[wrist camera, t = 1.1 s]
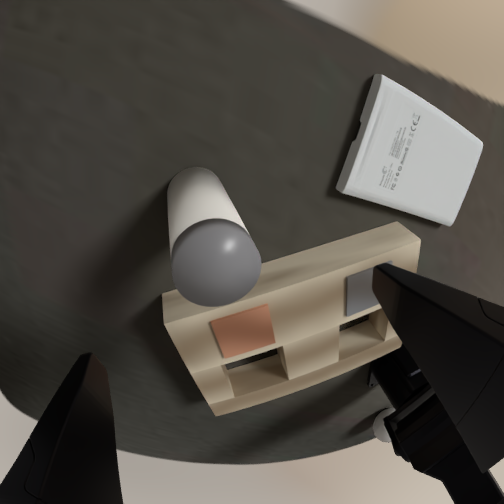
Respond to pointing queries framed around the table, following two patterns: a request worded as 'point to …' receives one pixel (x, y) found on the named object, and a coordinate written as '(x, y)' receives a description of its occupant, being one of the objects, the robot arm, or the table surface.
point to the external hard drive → (409, 155)
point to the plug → (208, 241)
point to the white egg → (382, 425)
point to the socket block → (292, 321)
